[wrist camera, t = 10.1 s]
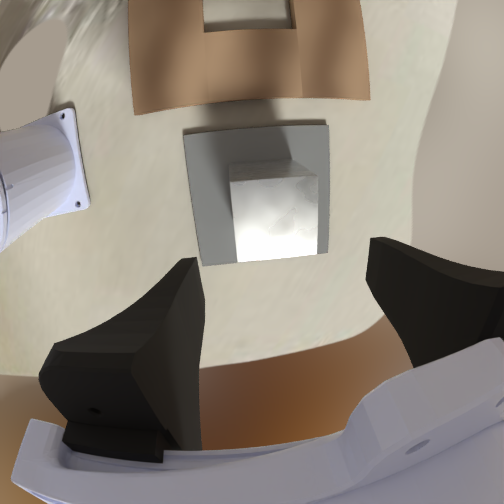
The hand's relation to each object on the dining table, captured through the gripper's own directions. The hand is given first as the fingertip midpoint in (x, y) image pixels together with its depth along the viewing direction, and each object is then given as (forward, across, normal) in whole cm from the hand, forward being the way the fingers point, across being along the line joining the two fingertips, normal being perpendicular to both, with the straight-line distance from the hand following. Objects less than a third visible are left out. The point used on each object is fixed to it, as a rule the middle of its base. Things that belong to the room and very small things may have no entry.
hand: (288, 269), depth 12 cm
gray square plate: (+10, 0, 0) cm, 10 cm away
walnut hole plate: (+10, 0, -15) cm, 18 cm away
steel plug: (+10, 0, -1) cm, 10 cm away
